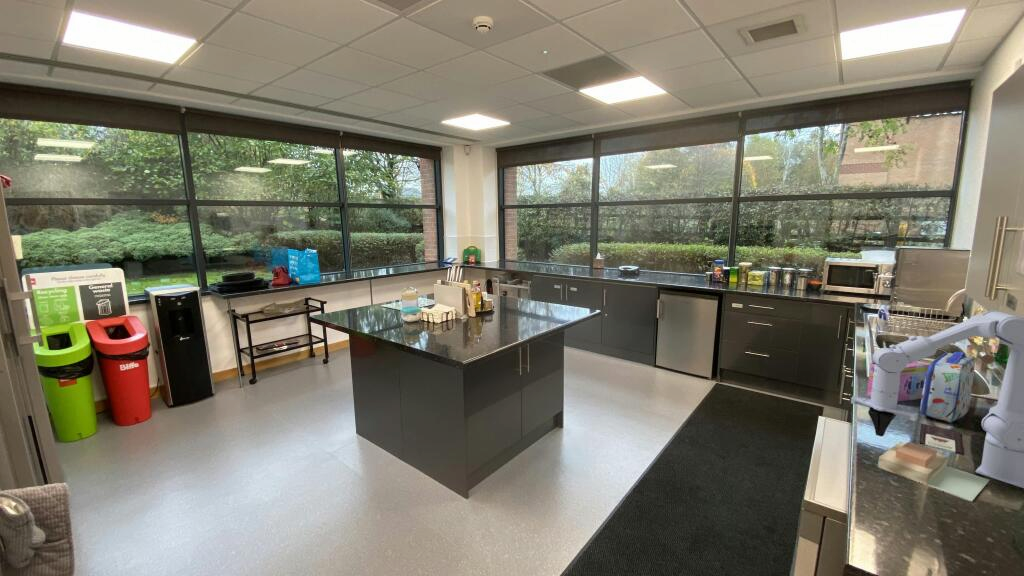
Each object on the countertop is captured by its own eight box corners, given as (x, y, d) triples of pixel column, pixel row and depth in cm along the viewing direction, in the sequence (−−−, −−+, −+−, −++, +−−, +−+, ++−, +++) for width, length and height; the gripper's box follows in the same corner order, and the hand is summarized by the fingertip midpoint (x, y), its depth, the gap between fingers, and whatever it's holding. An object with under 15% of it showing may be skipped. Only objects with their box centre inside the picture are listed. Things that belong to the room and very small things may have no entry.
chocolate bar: (960, 432, 134) (962, 453, 122) (959, 434, 134) (961, 456, 122) (921, 423, 141) (919, 442, 128) (920, 426, 141) (918, 445, 128)
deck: (946, 466, 116) (947, 456, 116) (926, 485, 108) (928, 474, 107) (899, 451, 124) (900, 441, 124) (877, 467, 116) (878, 457, 116)
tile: (936, 457, 115) (936, 450, 115) (924, 467, 110) (925, 460, 110) (907, 448, 120) (908, 441, 120) (895, 457, 116) (896, 450, 115)
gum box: (913, 390, 171) (916, 358, 169) (936, 397, 163) (940, 363, 161) (865, 395, 166) (869, 362, 164) (887, 403, 158) (891, 369, 157)
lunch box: (932, 399, 161) (939, 344, 158) (972, 408, 153) (980, 350, 150) (915, 419, 145) (922, 357, 142) (958, 430, 137) (966, 365, 134)
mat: (989, 481, 109) (989, 479, 109) (971, 502, 101) (971, 500, 101) (946, 466, 116) (946, 465, 116) (926, 485, 108) (926, 484, 108)
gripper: (848, 385, 124) (844, 428, 126) (913, 401, 112) (907, 449, 113) (858, 380, 128) (854, 422, 129) (922, 396, 115) (916, 442, 117)
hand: (879, 434), depth 122 cm, fingers closed
